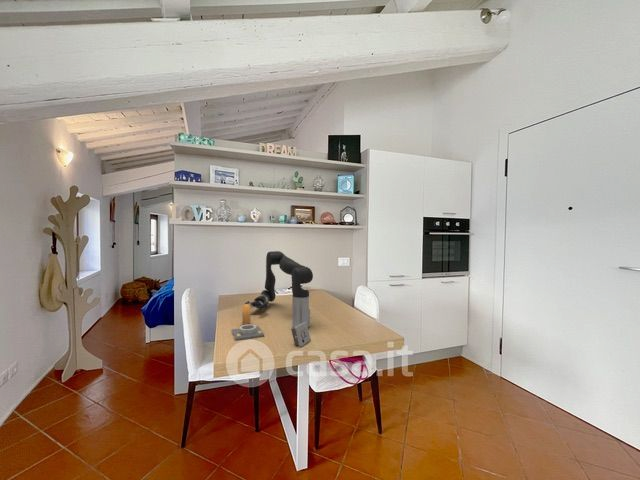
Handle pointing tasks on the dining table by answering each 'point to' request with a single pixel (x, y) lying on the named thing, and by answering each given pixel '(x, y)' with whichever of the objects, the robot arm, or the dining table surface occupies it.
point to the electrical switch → (301, 334)
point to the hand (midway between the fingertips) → (252, 307)
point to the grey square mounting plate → (247, 332)
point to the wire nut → (246, 314)
